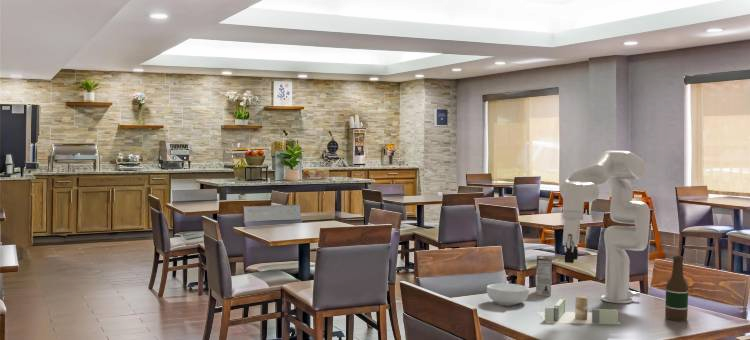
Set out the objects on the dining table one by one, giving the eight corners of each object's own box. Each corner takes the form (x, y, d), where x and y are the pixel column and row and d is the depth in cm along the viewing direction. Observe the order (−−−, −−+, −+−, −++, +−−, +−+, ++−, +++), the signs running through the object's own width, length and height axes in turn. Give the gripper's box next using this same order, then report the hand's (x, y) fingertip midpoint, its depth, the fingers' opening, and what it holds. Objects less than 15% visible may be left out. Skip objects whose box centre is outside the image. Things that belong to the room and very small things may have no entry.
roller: (585, 317, 267) (585, 296, 267) (588, 320, 262) (589, 298, 262) (573, 317, 267) (574, 296, 266) (577, 319, 262) (577, 298, 262)
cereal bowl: (536, 304, 290) (536, 287, 290) (514, 310, 278) (514, 293, 278) (500, 297, 302) (501, 281, 301) (478, 303, 289) (478, 286, 289)
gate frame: (605, 313, 275) (605, 300, 275) (621, 325, 258) (621, 310, 258) (536, 313, 274) (536, 299, 274) (547, 324, 257) (547, 309, 257)
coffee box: (535, 291, 315) (536, 255, 315) (550, 291, 314) (551, 256, 313) (536, 295, 306) (537, 258, 306) (551, 296, 305) (552, 259, 304)
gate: (559, 319, 262) (559, 305, 262) (553, 318, 263) (554, 305, 262) (565, 311, 274) (565, 298, 274) (559, 310, 275) (560, 298, 275)
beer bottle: (686, 317, 271) (688, 255, 270) (688, 322, 264) (690, 258, 263) (664, 315, 274) (666, 254, 273) (665, 320, 266) (667, 257, 265)
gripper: (566, 213, 274) (564, 257, 274) (558, 216, 258) (557, 263, 258) (586, 214, 271) (584, 259, 271) (580, 217, 255) (578, 264, 255)
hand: (571, 260), depth 265 cm, fingers open, 9 cm apart
